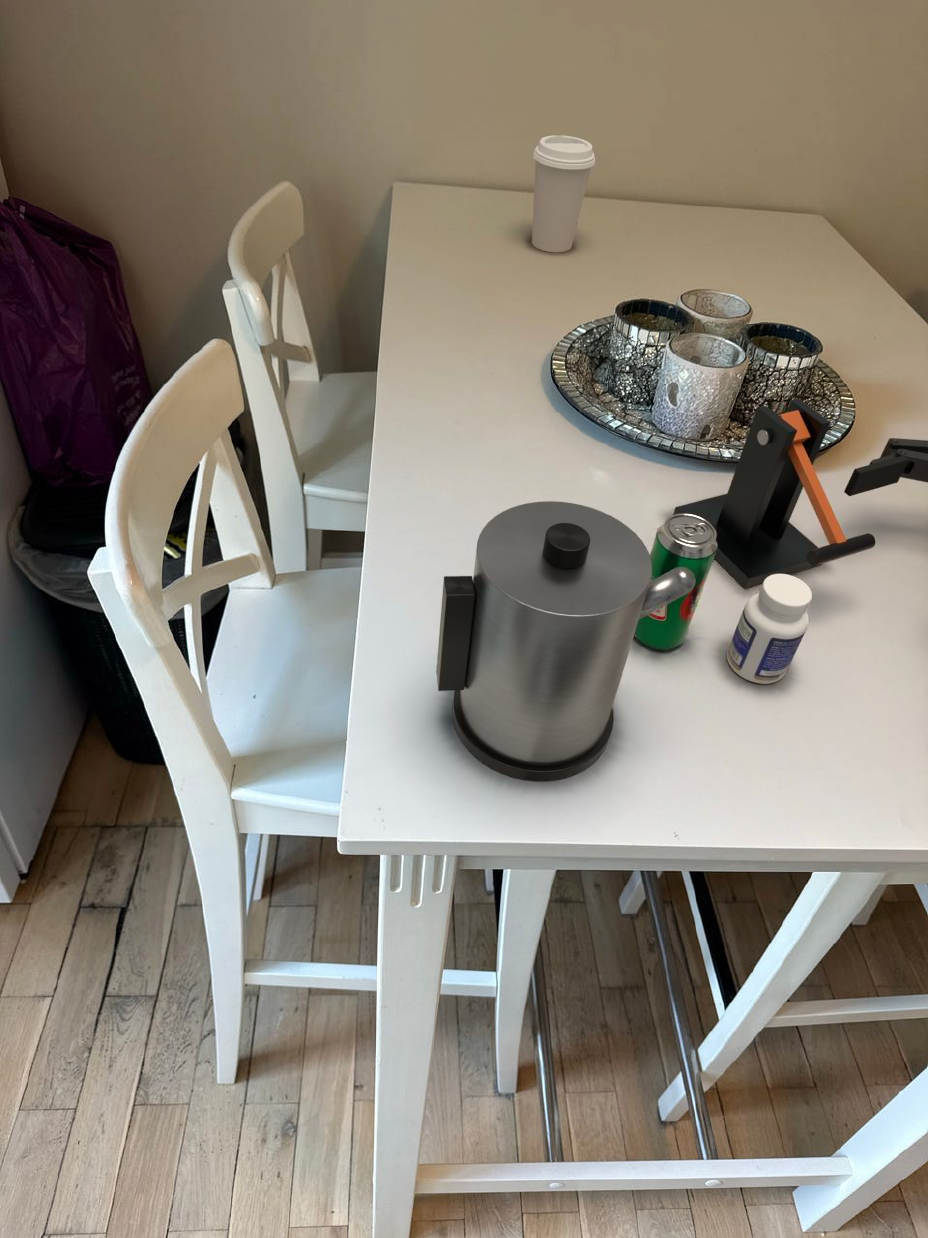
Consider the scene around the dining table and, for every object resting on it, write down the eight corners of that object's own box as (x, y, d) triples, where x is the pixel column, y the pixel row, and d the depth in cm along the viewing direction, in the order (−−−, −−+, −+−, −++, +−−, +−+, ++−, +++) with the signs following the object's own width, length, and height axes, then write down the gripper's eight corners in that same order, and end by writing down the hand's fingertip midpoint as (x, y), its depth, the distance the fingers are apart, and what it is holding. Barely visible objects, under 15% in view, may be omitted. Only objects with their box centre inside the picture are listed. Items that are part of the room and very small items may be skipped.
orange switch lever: (863, 552, 82) (882, 543, 79) (806, 570, 79) (824, 561, 77) (801, 417, 84) (818, 405, 82) (744, 431, 82) (760, 418, 79)
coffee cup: (582, 237, 146) (599, 138, 135) (579, 259, 139) (596, 157, 128) (525, 229, 146) (537, 130, 136) (519, 251, 139) (531, 149, 129)
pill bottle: (793, 658, 79) (829, 585, 73) (775, 694, 75) (811, 621, 69) (736, 633, 81) (767, 559, 74) (716, 667, 77) (747, 593, 71)
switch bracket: (821, 564, 89) (881, 439, 78) (744, 588, 85) (796, 460, 75) (746, 496, 96) (791, 374, 86) (672, 516, 93) (710, 391, 82)
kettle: (630, 654, 78) (683, 478, 65) (669, 775, 68) (741, 600, 55) (428, 659, 75) (440, 478, 62) (441, 786, 66) (459, 605, 53)
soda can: (619, 618, 81) (648, 514, 72) (668, 609, 82) (702, 506, 74) (643, 657, 77) (677, 553, 69) (694, 647, 79) (733, 544, 70)
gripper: (1149, 583, 83) (996, 645, 75) (942, 442, 98) (798, 481, 90) (1201, 520, 77) (1043, 579, 70) (975, 382, 93) (824, 418, 85)
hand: (904, 524), depth 80 cm, fingers open, 13 cm apart
